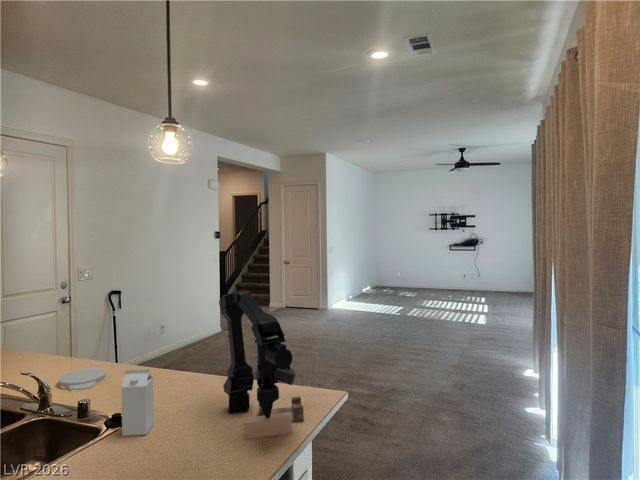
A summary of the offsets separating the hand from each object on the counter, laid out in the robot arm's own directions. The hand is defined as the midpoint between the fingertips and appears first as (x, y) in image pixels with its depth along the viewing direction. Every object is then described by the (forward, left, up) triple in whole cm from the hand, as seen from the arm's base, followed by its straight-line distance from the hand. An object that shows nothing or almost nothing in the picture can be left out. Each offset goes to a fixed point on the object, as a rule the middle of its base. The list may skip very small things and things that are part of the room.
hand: (267, 411), depth 125 cm
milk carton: (-39, +9, -7) cm, 41 cm away
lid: (-73, +56, -7) cm, 93 cm away
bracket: (+5, +10, -7) cm, 13 cm away
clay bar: (0, 0, -7) cm, 7 cm away
